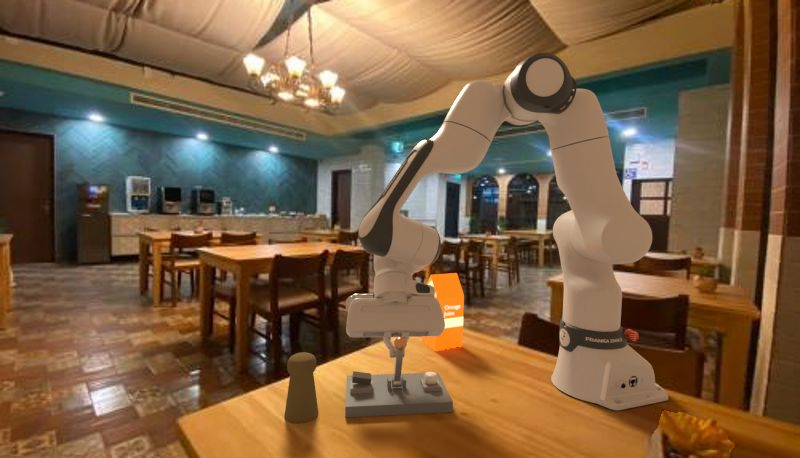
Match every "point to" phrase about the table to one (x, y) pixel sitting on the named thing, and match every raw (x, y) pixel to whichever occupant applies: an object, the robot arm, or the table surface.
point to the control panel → (396, 396)
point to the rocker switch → (361, 378)
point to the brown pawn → (301, 389)
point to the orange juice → (448, 311)
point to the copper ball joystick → (398, 361)
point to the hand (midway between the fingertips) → (397, 356)
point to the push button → (430, 378)
